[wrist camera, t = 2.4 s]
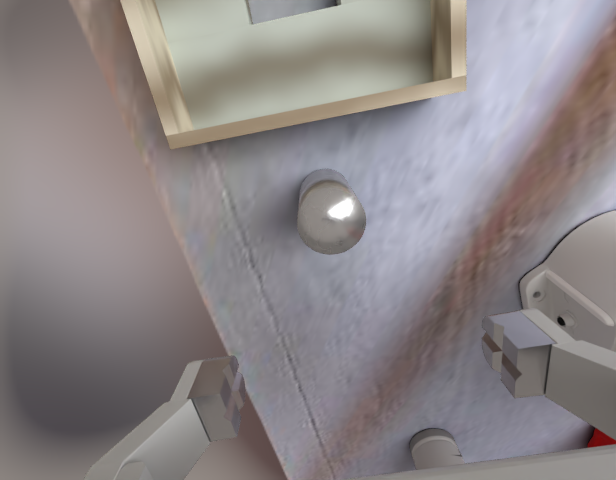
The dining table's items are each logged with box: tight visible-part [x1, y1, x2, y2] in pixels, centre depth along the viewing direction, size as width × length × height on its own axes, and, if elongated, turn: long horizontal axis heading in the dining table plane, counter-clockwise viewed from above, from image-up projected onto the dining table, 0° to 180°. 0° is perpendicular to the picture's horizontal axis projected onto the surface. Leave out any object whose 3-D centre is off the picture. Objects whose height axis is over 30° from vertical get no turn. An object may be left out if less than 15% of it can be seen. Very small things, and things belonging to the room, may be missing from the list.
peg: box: [297, 169, 366, 254], centre depth 27 cm, size 5×5×9 cm
